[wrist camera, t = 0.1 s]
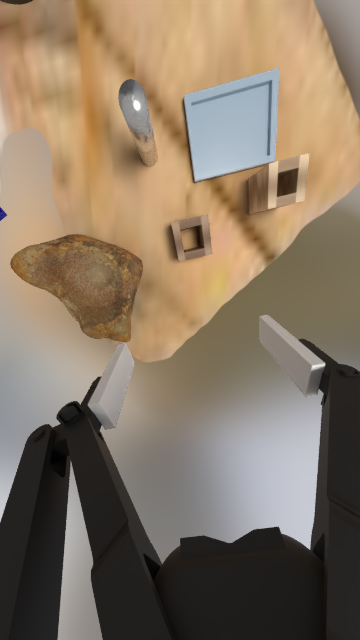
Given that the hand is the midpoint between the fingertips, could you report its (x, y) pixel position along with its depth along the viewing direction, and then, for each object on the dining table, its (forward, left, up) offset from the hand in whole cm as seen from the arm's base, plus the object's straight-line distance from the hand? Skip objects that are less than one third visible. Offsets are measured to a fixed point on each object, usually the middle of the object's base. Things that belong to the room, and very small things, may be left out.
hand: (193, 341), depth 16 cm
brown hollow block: (-8, +4, -28) cm, 29 cm away
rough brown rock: (-4, -15, -28) cm, 32 cm away
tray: (-23, +14, -28) cm, 38 cm away
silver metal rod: (-23, -1, -28) cm, 36 cm away
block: (-13, +20, -28) cm, 36 cm away
